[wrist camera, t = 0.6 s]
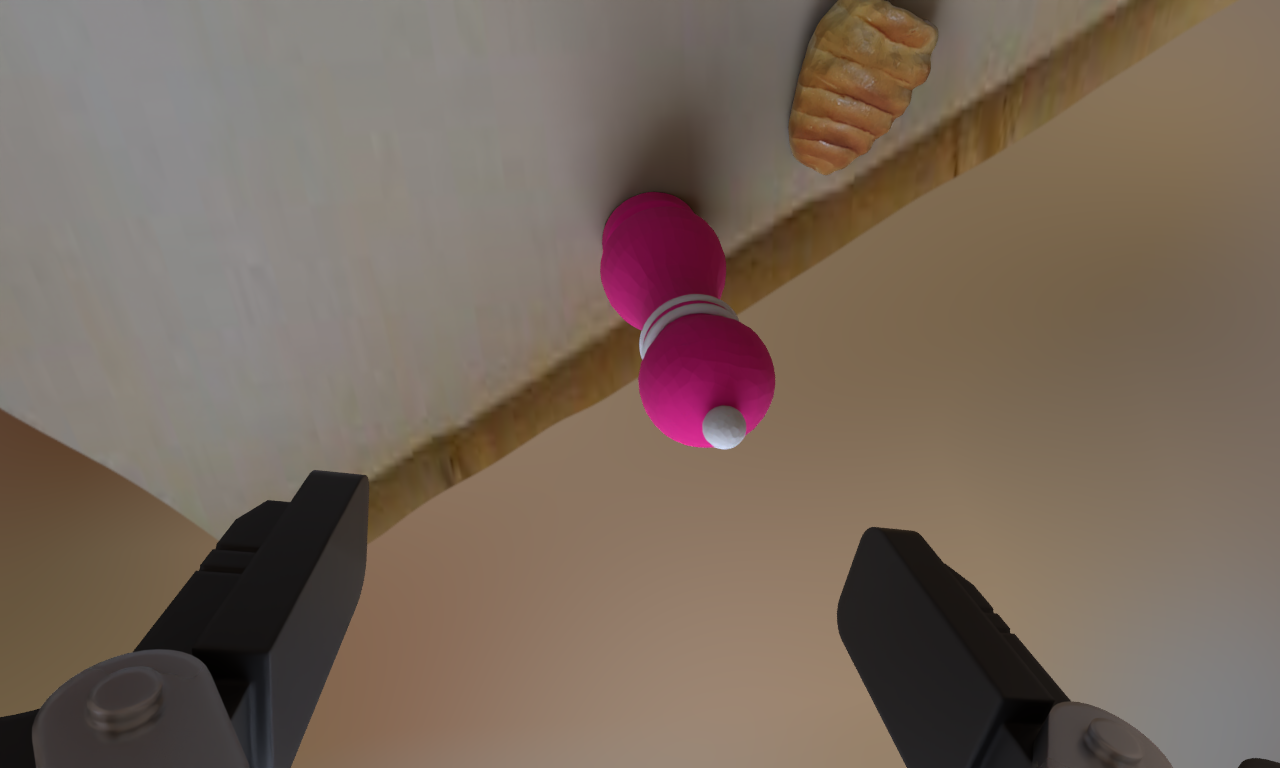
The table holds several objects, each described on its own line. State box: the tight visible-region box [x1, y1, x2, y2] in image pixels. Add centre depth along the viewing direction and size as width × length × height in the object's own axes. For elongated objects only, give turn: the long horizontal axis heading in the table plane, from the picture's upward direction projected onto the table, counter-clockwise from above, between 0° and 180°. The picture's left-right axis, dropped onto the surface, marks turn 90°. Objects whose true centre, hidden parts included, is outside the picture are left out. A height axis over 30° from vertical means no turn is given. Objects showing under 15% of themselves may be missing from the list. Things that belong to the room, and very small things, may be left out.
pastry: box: [788, 0, 938, 175], centre depth 38 cm, size 9×7×4 cm
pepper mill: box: [600, 192, 775, 449], centre depth 35 cm, size 7×7×20 cm
